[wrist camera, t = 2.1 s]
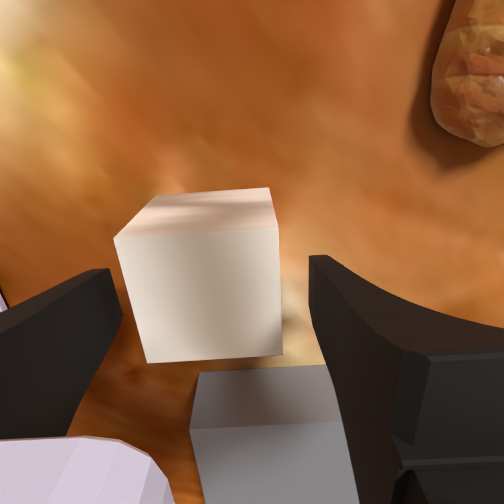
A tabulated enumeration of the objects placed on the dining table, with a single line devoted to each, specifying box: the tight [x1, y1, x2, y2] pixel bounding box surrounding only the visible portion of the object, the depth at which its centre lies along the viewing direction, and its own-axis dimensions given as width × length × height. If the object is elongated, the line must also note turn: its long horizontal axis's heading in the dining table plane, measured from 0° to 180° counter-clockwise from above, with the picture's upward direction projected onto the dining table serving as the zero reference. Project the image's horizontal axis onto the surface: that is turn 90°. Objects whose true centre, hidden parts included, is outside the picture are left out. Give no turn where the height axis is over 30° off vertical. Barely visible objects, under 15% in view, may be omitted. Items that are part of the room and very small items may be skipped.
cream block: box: [113, 188, 283, 363], centre depth 13 cm, size 5×5×5 cm
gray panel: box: [189, 365, 359, 504], centre depth 20 cm, size 12×12×4 cm
